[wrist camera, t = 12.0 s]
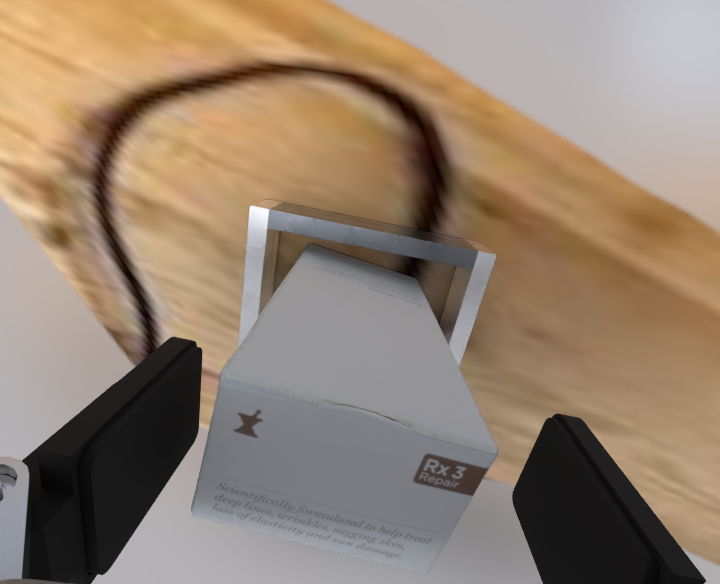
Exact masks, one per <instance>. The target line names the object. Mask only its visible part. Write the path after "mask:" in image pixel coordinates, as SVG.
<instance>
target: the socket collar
mask: <svg viewBox="0 0 720 584" xmlns="http://www.w3.org/2000/svg"><path fill="white" fill-rule="evenodd" d="M280 231H284V232H289V233H294V234H299V235H304V236H309V237H314V238H319V239H324V240H329V241H334V242H339V243H344V244H349V245H354V246H359V247H364V248H369V249H375V250H380V251H385V252H390V253H395V254H400V255H405V256H410V257H415V258H420V259H425V260H430V261H435V262H440V263H445V264H450V265H455V266H457V267H456V270H455V274H454V277H453V280H452V284H451V287H450V290H449V294H448V297H447V300H446V304H445V307H444V311H443V314H442V317H441V321H440V324H439V326H440V328H441V330H442V333H443V335H444V337H445V339H446V341H447V343H448V345H449V347H450V349H451V352H452V354H453V356H454V358H455V360H456V362H457V364H458V366H460V363H461V360H462V357H463V354H464V351H465V348H466V346H467V343H468V340H469V337H470V334H471V331H472V328H473V325H474V322H475V319H476V316H477V313H478V310H479V307H480V304H481V301H482V298H483V295H484V292H485V289H486V286H487V283H488V280H489V277H490V274H491V271H492V268H493V265H494V262H495V259H496V256H497V255H496V254H495V253H494V252H492V251H491V250H490V249H489V248H487V247H486V246H485V245H484V244H482V243H481V242H477V241H472V240H467V239H462V238H457V237H452V236H447V235H442V234H437V233H433V232H428V231H423V230H418V229H413V228H408V227H403V226H398V225H393V224H388V223H383V222H378V221H373V220H368V219H363V218H358V217H353V216H348V215H343V214H338V213H333V212H328V211H323V210H318V209H313V208H308V207H303V206H299V205H294V204H289V203H284V202H279V201H274V200H269V199H266V200H263V201H260V202H258V203H255V204H253V205H250V212H249V224H248V235H247V247H246V259H245V270H244V282H243V294H242V305H241V317H240V329H239V340H238V347H239V346H240V345H241V343H242V342H243V341H244V339H245V338H246V336H247V335H248V333H249V331H250V329H251V328H252V326H253V324H254V323H255V321H256V320H257V318H258V317H259V315H260V314H261V312H262V311H263V309H264V308H265V306H266V305H267V303H268V302H269V300H270V299H271V297H272V293H273V285H274V276H275V267H276V259H277V250H278V242H279V233H280Z"/></svg>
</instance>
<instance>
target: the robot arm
mask: <svg viewBox="0 0 720 584" xmlns="http://www.w3.org/2000/svg"><path fill="white" fill-rule="evenodd" d="M201 370H202V349H201V348H199V347H197V345H196V342H195V341H192V340H187V339H182V338H177V337H171V338H169V339H168V340H167V341H166V342H165V343H163V344H162V345H161V346H160V347H159V348H157V349H156V350H155V351H154V352H153V353H151V354H150V355H149V356H148V357H147V358H146V359H144V360H143V361H142V362H141V363H140V364H138V365H137V366H136V367H135V368H134V369H132V371H130V372H129V373H128V374H126V376H124V377H123V378H122V379H121V380H119V381H118V382H116V383H115V384H113V385H112V386H111V387H110V388H108V389H107V390H106V391H105V392H104V393H103V394H101V395H100V396H99V397H98V398H96V399H95V400H94V401H93V402H92V403H91V404H89V405H88V406H87V407H86V408H85V409H83V410H82V411H81V412H80V413H79V414H77V415H76V416H75V417H74V418H73V419H71V420H70V421H69V422H68V423H67V424H65V425H64V426H63V427H62V428H61V429H59V430H58V431H57V432H56V433H55V434H53V435H52V436H51V437H50V438H49V439H47V440H46V441H45V442H44V443H43V444H41V445H40V446H39V447H38V448H37V449H36V450H34V451H33V452H32V453H31V454H30V455H28V456H27V457H26V458H25V459H23V460H22V461H21V460H17V459H13V458H10V457H0V584H91V583H92V581H93V580H94V578H95V577H96V576H97V574H100V575H103V574H105V573H106V572H107V571H108V570H109V569H110V567H111V566H112V565H113V563H114V562H115V560H116V559H117V557H118V556H119V554H120V553H121V551H122V550H123V548H124V547H125V545H126V543H127V542H128V541H129V539H130V538H131V536H132V535H133V533H134V532H135V530H136V529H137V527H138V526H139V524H140V523H141V521H142V520H143V518H144V516H145V515H146V514H147V512H148V511H149V509H150V508H151V506H152V505H153V503H154V502H155V500H156V498H157V497H158V496H159V494H160V493H161V491H162V490H163V488H164V487H165V485H166V484H167V482H168V481H169V479H170V478H171V476H172V475H173V473H174V472H175V470H176V469H177V467H178V466H179V464H180V463H181V461H182V460H183V458H184V457H185V455H186V454H187V452H188V450H189V449H190V448H191V446H192V445H193V443H194V441H195V439H196V437H197V434H198V429H199V412H200V391H201ZM512 498H513V505H514V508H515V511H516V513H517V516H518V519H519V521H520V524H521V527H522V529H523V532H524V535H525V537H526V540H527V542H528V545H529V548H530V550H531V553H532V556H533V558H534V561H535V564H536V566H537V569H538V571H539V574H540V577H541V579H542V582H543V584H704V583H705V582H706V580H705V578H704V577H703V576H702V575H701V573H700V572H699V571H698V569H697V568H696V567H695V566H694V564H693V563H692V562H691V560H690V559H689V558H688V556H687V555H686V554H685V552H684V551H683V550H682V549H681V547H680V546H679V545H678V543H677V542H676V541H675V539H674V538H673V537H672V536H671V534H670V533H669V532H668V530H667V529H666V528H665V526H664V525H663V524H662V523H661V521H660V520H659V519H658V517H657V516H656V515H655V513H654V512H653V511H652V510H651V508H650V507H649V506H648V504H647V503H646V502H645V500H644V499H643V498H642V497H641V495H640V494H639V493H638V491H637V490H636V489H635V488H634V486H633V485H632V484H631V482H630V481H629V480H628V478H627V477H626V476H625V475H624V473H623V472H622V471H621V469H620V468H619V467H618V465H617V464H616V463H615V462H614V460H613V459H612V458H611V456H610V455H609V454H608V452H607V451H606V450H605V449H604V447H603V446H602V445H601V443H600V442H599V441H598V439H597V438H596V437H595V436H594V434H593V433H592V432H591V430H590V429H589V428H588V426H587V425H586V424H585V423H584V421H583V420H582V419H580V418H577V417H572V416H567V415H562V414H555V415H554V416H553V417H552V418H548V419H546V421H545V423H544V425H543V427H542V429H541V431H540V434H539V436H538V438H537V440H536V442H535V444H534V447H533V449H532V451H531V453H530V455H529V458H528V460H527V462H526V464H525V466H524V468H523V471H522V473H521V475H520V477H519V479H518V482H517V484H516V486H515V488H514V491H513V495H512Z"/></svg>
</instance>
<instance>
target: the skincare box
mask: <svg viewBox="0 0 720 584" xmlns="http://www.w3.org/2000/svg"><path fill="white" fill-rule="evenodd" d="M497 454H498V449H497V446H496V443H495V441H494V439H493V437H492V435H491V433H490V431H489V429H488V427H487V425H486V423H485V421H484V419H483V417H482V415H481V413H480V411H479V408H478V406H477V404H476V402H475V400H474V398H473V396H472V394H471V392H470V389H469V387H468V385H467V383H466V381H465V379H464V377H463V375H462V373H461V371H460V369H459V366H458V364H457V362H456V360H455V358H454V356H453V354H452V352H451V349H450V347H449V345H448V343H447V341H446V339H445V337H444V335H443V333H442V330H441V328H440V326H439V324H438V322H437V320H436V318H435V316H434V313H433V311H432V309H431V307H430V305H429V303H428V301H427V299H426V297H425V294H424V292H423V290H422V288H421V286H420V284H419V282H418V280H417V279H415V278H413V277H410V276H407V275H403V274H400V273H397V272H395V271H392V270H389V269H386V268H383V267H380V266H377V265H374V264H371V263H368V262H365V261H362V260H359V259H356V258H353V257H350V256H347V255H344V254H341V253H338V252H335V251H332V250H329V249H326V248H323V247H320V246H317V245H313V244H308V245H307V247H306V248H305V250H304V251H303V253H302V254H301V256H300V257H299V259H298V260H297V261H296V263H295V264H294V266H293V267H292V268H291V270H290V271H289V273H288V274H287V276H286V277H285V279H284V280H283V281H282V283H281V284H280V286H279V287H278V289H277V290H276V292H275V293H274V294H273V296H272V297H271V299H270V300H269V302H268V303H267V305H266V306H265V308H264V309H263V311H262V312H261V314H260V315H259V317H258V318H257V320H256V321H255V323H254V324H253V326H252V328H251V329H250V331H249V333H248V335H247V336H246V338H245V339H244V341H243V342H242V343H241V345H240V346H239V347H238V348H237V350H236V351H235V353H234V354H233V355H232V356H231V358H230V359H229V360H228V362H227V363H226V364H225V366H224V367H223V369H222V371H221V373H220V379H219V386H218V392H217V397H216V402H215V406H214V411H213V415H212V419H211V424H210V428H209V433H208V438H207V442H206V446H205V451H204V455H203V460H202V464H201V469H200V473H199V478H198V482H197V486H196V491H195V495H194V498H193V502H192V507H191V512H192V515H193V516H194V517H198V518H202V519H206V520H210V521H215V522H219V523H223V524H228V525H232V526H236V527H239V528H244V529H247V530H252V531H255V532H259V533H263V534H267V535H272V536H275V537H279V538H283V539H287V540H291V541H295V542H299V543H304V544H308V545H311V546H315V547H319V548H323V549H327V550H331V551H335V552H339V553H343V554H347V555H351V556H355V557H359V558H363V559H367V560H370V561H374V562H379V563H383V564H387V565H391V566H396V567H399V568H403V569H407V570H411V571H414V572H417V573H420V574H427V573H428V572H429V571H430V569H431V567H432V565H433V563H434V562H435V560H436V559H437V557H438V556H439V554H440V552H441V551H442V549H443V547H444V546H445V544H446V542H447V541H448V539H449V537H450V535H451V534H452V532H453V530H454V528H455V526H456V525H457V523H458V521H459V519H460V517H461V516H462V514H463V512H464V511H465V509H466V508H467V506H468V504H469V502H470V501H471V498H472V497H473V495H474V493H475V491H476V489H477V488H478V486H479V484H480V483H481V481H482V479H483V478H484V476H485V474H486V473H487V471H488V469H489V467H490V466H491V464H492V463H493V462H494V460H495V458H496V456H497Z"/></svg>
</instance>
